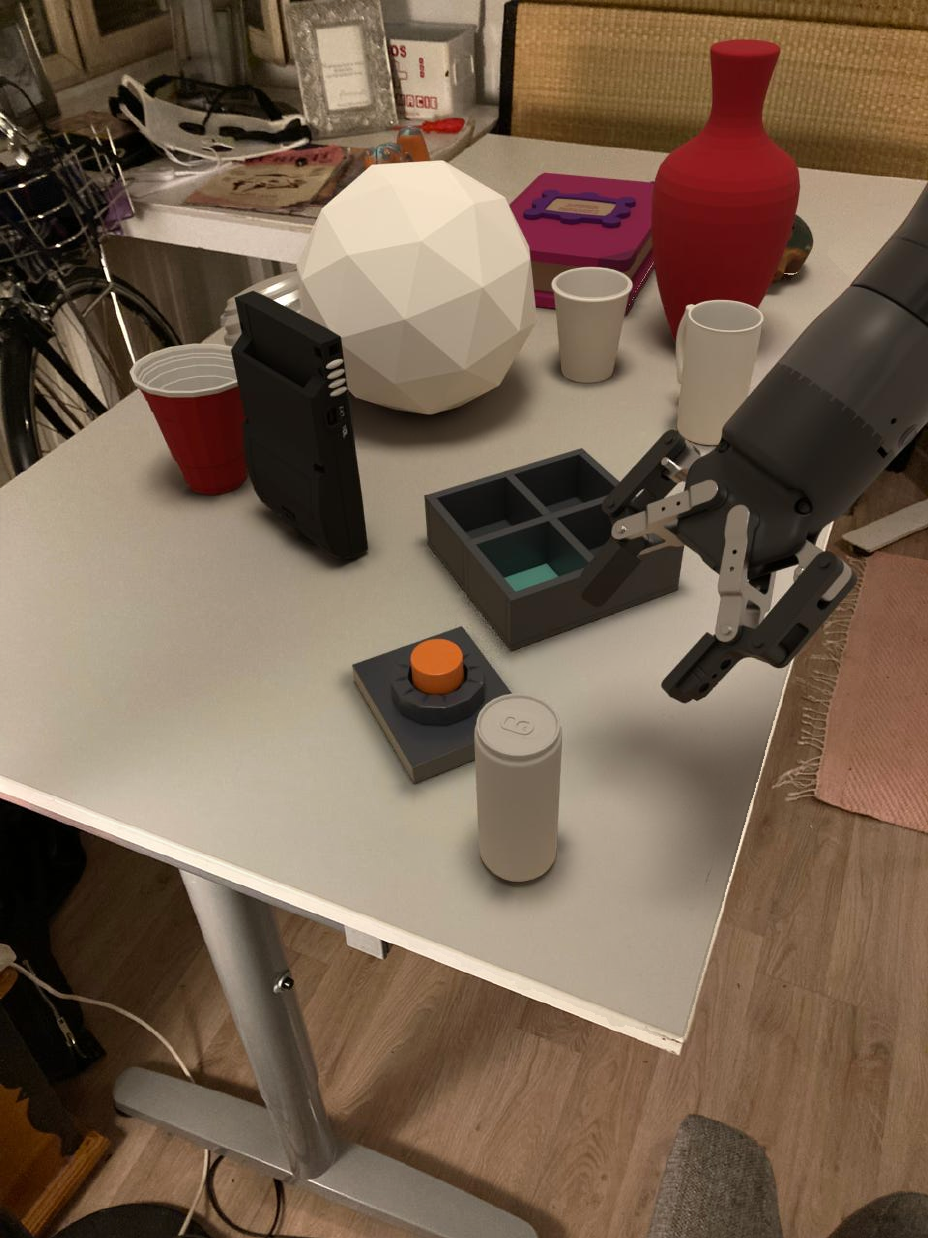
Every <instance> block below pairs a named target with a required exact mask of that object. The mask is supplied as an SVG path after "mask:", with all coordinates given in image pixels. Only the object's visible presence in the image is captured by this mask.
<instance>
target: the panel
mask: <svg viewBox="0 0 928 1238" xmlns="http://www.w3.org/2000/svg"><path fill="white" fill-rule="evenodd" d="M432 639H444V640H448V641H451V642H453V643H455V644H456V645H457V646H458V647H459V648H460V649H461V651H462V654H463V671H464V678H463V682H462V683H461V685H460V686H459V687H458V688H457V689H456V690H455V691H453V692H451V693H448V694H445V695H428V694H425V693H423V692H421V691H420V690H418V689H417V688H416V687H415V685H414V683H413V680H412V670H411V660H410V658H411V653H412V651H413V650H414V648H415V647H416V646H418V645H419V644H420V643H422V642H425V641H428V640H432ZM351 667H352V673H353V674H352V675H353V680H354V682H355V683H354V684H356V686H357V688H358V690H359V691H360V694H361V695H362V696H363V698H364V700H365V701H366V703H367V705H368V707H369V708H370V710H371V712H372V713H373V715H374V717H375V719H376V720H377V722H378V724H379V726H380V727H381V729H382V731H383V732H384V734H385V736H386V738H387V739H388V741H389V743H390V745H391V746H392V748H393V750H394V751H395V753H396V755H397V757H398V758H399V761H400V762H401V764H402V766H403V767H404V769H405V770H406V771H405V772H407V774H408V776H409V777H410V779H411V781H412V782H413V784H417V783H420V782H423V781H425V780H428V779H430V778H432V777H435V776H438V775H441V774H442V773H445V772H448V771H450V770H452V769H455V768H458V767H460V766H463V765H465V764H467V763H469V762H473V761H475V742H474V735H475V726H476V724H477V718H478V715H479V713H480V711H481V710H482V709H483V707H484V706H485V705H486V704H487V703H489V702H490V701H492V700H493V699H495V698H498V697H500V696H503V695H508V694H513V692H512V691H511V690H510V689H509V687H508V686H507V684H506V683H505V682H504V681H503V679H502V678H501V676H500V675H499V674H498V672H497V671H496V670H495V668H494V667H493V666H492V665H491V663H490V661H488V659H487V658H486V656H485V655H484V654H483V652H482V651H481V650H480V649H479V647H478V645H477V644H476V643H475V642H474V640H473V639H472V638H471V636H470V635H469V634H468V632H467V631H466V629H465V628H464V626H458V627H454V628H452V629H449V630H445V631H444V632H441V633H438V634H434V635H432V636H428V637H427V638H424V639H421V640H419V641H415V642H413V643H409V644H407V645H403V646H401V647H398V648H396V649H392V650H389V651H387V652H384V653H381V654H378V655H376V656H373V657H370V658H367V659H365V660H361V661H359V662H356V663H352V665H351Z"/></svg>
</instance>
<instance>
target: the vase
mask: <svg viewBox="0 0 928 1238" xmlns="http://www.w3.org/2000/svg"><path fill="white" fill-rule="evenodd" d="M781 51H782V49H781V46H780V45H779V44H778V43H776V42H773V41H767V40H761V39H753V38H752V39H751V38H750V39H749V38H746V39H745V38H744V39H743V38H742V39H740V38H739V39H737V38H736V39H728V40H722V41H718V42H715V43H713V44H711V46H710V48H709V59H710V70H711V72H710V73H711V97H712V98H711V109H710V113H709V116H708V119H707V121H706V123H705V125H704V127H703V128H702V129H701V130H700V131H699V133H698V134H696V135H695V136H694V137H692V138H691V139H689V140H688V141H687V142H685V143H683V144H682V145H680V146H679V147H677V148H676V149H673V150H672V151H671V152H670V153H668V155H666V157H665V158H664V159H663V161H661V163H660V164H659V166H658V170H657V172H656V175H655V178H654V181H655V182H654V189H653V196H652V213H651V227H652V248H653V259H654V266H655V267H654V273H655V279H656V284H657V288H658V292H659V293H658V294H659V296H660V301H661V304H662V307H663V311H664V314H665V315H664V316H665V318H666V321H667V325H668V328H669V330H670V333H671V336H672V340H673V342H674V344H676V338H677V332H678V328H679V325H680V322H681V320H682V318H683V315H684V313H685V311H686V306H687V305H691V304H693V305H697V304H699V303H702V302H706V301H712V300H730V301H737V302H742V303H745V304H748V305H751V306H753V307H755V308H757V309H758V310H759V307H760V305H761V304H762V302H763V300H764V299H765V296H766V294H767V292H768V291H769V288H770V286H771V284H772V283H771V282H772V280H773V278H774V275H775V273H776V271H777V269H778V266H779V264H780V261H781V259H782V256H783V253H784V251H785V248H786V245H787V242H788V239H789V236H790V232H791V229H792V226H793V222H794V218H795V214H796V215H797V210H798V206H799V200H800V199H799V198H800V191H801V180H800V179H801V178H800V169H799V168H798V166H797V163H796V162H795V160H794V159H793V157H792V156H791V155H789V154H788V153H787V152H786V151H785V150H784V149H783V148H781V147H780V146H779V145H777V144H776V142H774V141H773V139H771V138H770V136H769V135H768V133H767V131H766V130H765V129H766V128H765V126H764V122H763V109H764V105H765V104H764V103H765V99H766V97H767V92H768V89H769V86H770V83H771V80H772V78H773V74H774V72H775V68H776V66H777V63H778V61H779V58H780V54H781Z"/></svg>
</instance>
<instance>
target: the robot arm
mask: <svg viewBox="0 0 928 1238" xmlns="http://www.w3.org/2000/svg"><path fill="white" fill-rule="evenodd" d="M927 423H928V182H927V183H926V184H925V186H924V188H923V189H922V191H921V193H920V195H919V196H918V198H917V199H916V201H915V203H914V205H913V206H912V208H911V209H910V211H909V212H908V213H907V215H906V216H905V218H904V219H903V221H902V223H901V224H900V225H899V227H898V228H896V230H895V231H894V232H893V233H892V234H891V235H890V237H889V238H888V239H887V241H886V242H885V243H884V244H883V245H882V246H881V247H880V248H879V250H878V251H877V252H876V253H875V255H874V256H873V257H871V259H870V260H869V261H868V263H867V264H866V265H865V266H864V267H863V268H862V270H861V271H860V272H859V273H858V274H857V276H856V277H855V278H854V279H853V280H852V282H851V283H850V284H849V286H848V287H846V288H845V289H844V290H843V292H842V293H840V295H839V296H838V297H837V298H835V300H834V301H833V302H831V303H830V304H829V305H828V306H827V307H826V308H824V310H823V311H822V312H820V313H819V314H818V315H817V316H816V317H815V318H814V319H813V321H811V322H810V324H809V325H807V326H806V328H805V329H804V330H803V331H802V332H801V334H800V335H799V336H798V337H797V338H796V340H795V341H794V342H793V343H792V344H791V345H790V346H789V348H788V349H787V350H786V351H785V352H784V354H783V355H781V357H780V358H779V360H778V361H777V362H776V363H775V364H774V365H773V367H772V368H771V369H770V370H769V371H768V372H767V373H766V375H765V376H764V377H763V378H762V379H761V380H760V382H759V383H758V384H757V385H756V387H755V388H754V389H753V390H752V391H751V393H749V394H748V397H747V399H746V400H745V401H744V402H743V403H742V404H741V406H740V407H739V408H738V409H737V410H736V411H735V413H734V414H733V415H732V416H731V417H730V419H729V420H728V421H727V422H726V423H725V425H724V426H723V428H722V437H721V440H720V442H719V444H718V445H716V447H714V448H713V449H712V450H711V451H709V452H707V453H706V454H704V455H701V452H700V450H699V449H698V447H696V446H695V445H694V444H692V443H691V441H690V440H688V439H686V438H684V437H683V436H682V435H681V434H680V433H679V431H678V430H676V429H668V430H666V431H665V432H664V433H663V434H662V435H661V436H660V437H659V438H658V440H657V441H656V442H655V443H654V444H653V445H652V446H651V447H650V448H649V449H648V451H646V452H645V454H644V455H643V456H642V457H641V458H640V459H639V461H637V463H636V464H634V466H633V467H632V468H631V469H630V471H628V472H627V473H626V475H624V477H623V478H622V479H621V480H619V481H620V482H619V484H618V485H617V486H616V487H615V488H614V489H613V490H612V491H611V492H610V493H609V495H608V496H607V497H606V498H605V499H604V501H603V503H602V510H603V511H604V512H605V513H606V514H608V516H609V519H610V521H611V524H612V531H611V533H612V535H611V537H610V539H609V540H608V541H607V542H606V543H605V545H604V546H603V547H602V548H601V549H600V551H599V552H598V553H597V554H596V555H595V557H594V559H592V560H591V561H590V562H589V564H588V565H587V566H586V567H585V568H584V570H583V571H582V572H581V575H580V577H579V579H578V580H579V581H580V582H579V583H578V584H577V585H576V587H575V592H576V593H577V594H578V595H579V596H580V597H581V599H582V600H584V601H586V602H587V603H589V604H591V605H593V606H594V607H601V606H603V605H604V604H605V603H606V602H607V601H608V600H609V599H610V597H611V596H612V595H613V594H614V593H615V592H616V591H617V589H618V588H619V587H620V586H621V585H622V584H623V582H624V581H625V580H626V579H627V578H628V577H629V575H630V574H631V573H632V572H633V571H634V570H635V568H636V567H637V566H638V565H639V564H640V563H641V561H642V560H641V559H640V558H639V557H638V554H645V553H648V552H651V551H654V550H658V549H661V548H664V547H667V546H675V547H680V546H684V547H687V548H689V549H690V550H691V551H693V552H694V553H695V554H696V555H698V556H699V557H700V559H701V560H702V562H703V563H704V564H706V565H707V567H709V569H710V570H712V571H713V572H715V573H716V574H718V575H719V576H718V582H717V592H718V594H719V595H718V596H719V598H720V601H719V607H718V611H717V618H716V624H715V629H714V634H712V633H710V632H708V631H706V632H705V633H704V634H703V635H702V636H701V638H700V639H698V641H697V642H696V643H695V644H694V645H693V646H692V648H691V649H689V650H688V652H687V653H686V654H685V655H684V656H683V658H681V659H680V661H679V662H678V663H677V664H676V665H675V667H673V668H672V670H671V671H670V672H669V673H668V674H667V675H666V676H665V677H664V679H663V680H662V681H661V684H660V687H661V689H662V690H663V691H664V692H665V693H666V694H667V696H669V698H671V699H673V700H676V701H677V702H680V703H682V704H688V703H690V702H691V701H695V702H698V701H700V700H703V699H704V698H706V697H707V696H708V695H709V694H710V693H711V692H712V691H713V690H714V688H716V687H717V685H719V683H720V682H722V681H723V679H724V678H725V677H726V676H727V675H728V673H730V672H731V671H732V669H733V668H734V667H735V666H736V665H737V664H738V663H739V662H741V660H743V659H748V658H752V659H754V660H757V661H759V662H763V663H765V664H767V665H769V666H771V667H773V668H774V669H784V668H785V667H787V666H789V664H790V663H792V661H793V660H794V659H795V657H797V655H798V654H799V653H800V651H802V649H803V648H804V647H805V646H806V644H807V643H808V642H809V641H810V640H811V639H812V637H813V636H814V635H815V634H816V632H817V631H818V630H819V629H820V628H821V627H822V625H824V624H825V622H826V620H828V618H829V617H830V616H831V615H832V614H833V612H834V611H835V610H836V609H837V608H838V606H839V605H840V604H841V603H842V602H843V601H844V600H845V598H847V596H848V595H849V593H851V591H852V590H853V589H854V587H855V586H856V585H857V582H858V575H857V574H856V572H855V571H854V570H853V569H852V567H850V566H849V564H847V563H846V562H845V561H844V560H843V559H842V558H841V557H839V556H837V555H836V554H835V553H834V552H832V551H829V550H823V549H821V548H820V547H818V546H817V545H816V544H817V541H818V540H819V539H818V538H819V536H820V534H821V533H822V531H823V530H824V529H825V527H827V526H829V525H830V524H831V523H833V522H835V521H837V520H839V519H840V518H841V517H842V516H843V515H844V514H845V513H846V512H847V511H848V510H849V508H850V507H852V505H853V504H854V503H855V502H856V501H857V500H858V499H859V498H860V496H861V495H863V494H864V492H865V491H866V490H867V489H868V488H869V487H870V485H871V484H872V483H873V482H874V481H875V480H876V479H877V478H878V477H879V475H880V474H881V473H882V472H883V471H884V470H885V469H886V468H887V467H888V466H889V465H890V463H891V462H893V460H894V459H895V458H896V457H897V456H898V455H899V454H900V453H901V452H902V451H903V449H904V448H905V447H906V446H907V445H909V444H910V443H912V441H913V440H914V438H915V437H916V436H917V434H918V433H919V432H920V431H921V430H922V429H923V428H924V426H926V424H927ZM682 482H683V483H684V488H683V491H681V492H678V493H676V494H673V495H669V494H670V493H671V492H672V491H673V490H674V488H676V486H677V485H678V484H679V483H682ZM668 495H669V496H668ZM635 496H637V497H636V499H635V500H634V501H633V502H632V503H631V504H629V503H630V502H631V501H632V500H633V498H634V497H635ZM794 566H797V567H795V569H794V571H793V577H792V580H793V583H792V584H791V585H790V587H788V589H787V591H785V592H784V593H783V594H782V596H781V597H780V598H779V600H778V601H777V603H776V604H775V605H774V606H773V607H772V601H773V596H774V595H773V594H774V589H775V584H776V578H777V572H779V571H781V570H785V569H789V568H791V567H794ZM766 613H767V614H766ZM765 615H766V616H765Z"/></svg>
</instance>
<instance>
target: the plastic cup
mask: <svg viewBox="0 0 928 1238" xmlns="http://www.w3.org/2000/svg"><path fill="white" fill-rule="evenodd" d="M231 349H232V347H231V346H226V344H220V343H188V344H182V345H181V344H180V345H175V346H169V347H165V348H163V349H160V350H156V351H153V352H150V353H148V354H146V355H145V356H142V358H140V359H138V360H136V361H135V362H134V364H133V365H132V367H131V368H130V370H129V374H130V377H131V380H132V382H133V384H134V385H135V387H137V389H138V390H140V392H141V394H142V395H143V397H144V400H145V402H146V403H147V405H148V407H149V410H150V412H151V413H152V414H153V416H154V419H155V420H156V423H157V425H158V427H159V429H160V432H161V434H162V436H163V438H164V440H165V443H166V445H167V447H168V449H169V452H170V454H171V457H172V458H173V460H174V462H176V465H177V467H178V468H179V469H178V470H179V471H180V473H181V475H182V477H183V480H184V483H185V484H187V486H188V488H189V489H190V490H191V491H193V492H195V493H197V494H201V495H206V496H209V495H221V494H225V493H228V492H231V491H233V490H235V489H237V488H239V487H240V486H242V484H243V483H244V482H245V481H246V480H247V479H246V478H247V475H248V470H247V467H246V463H245V454H244V445H243V422H244V421H246V416H244V415H243V407H242V402H241V397H240V392H239V387H238V383H237V378H236V373H235V368H234V363H233V358H232V354H231Z"/></svg>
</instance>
